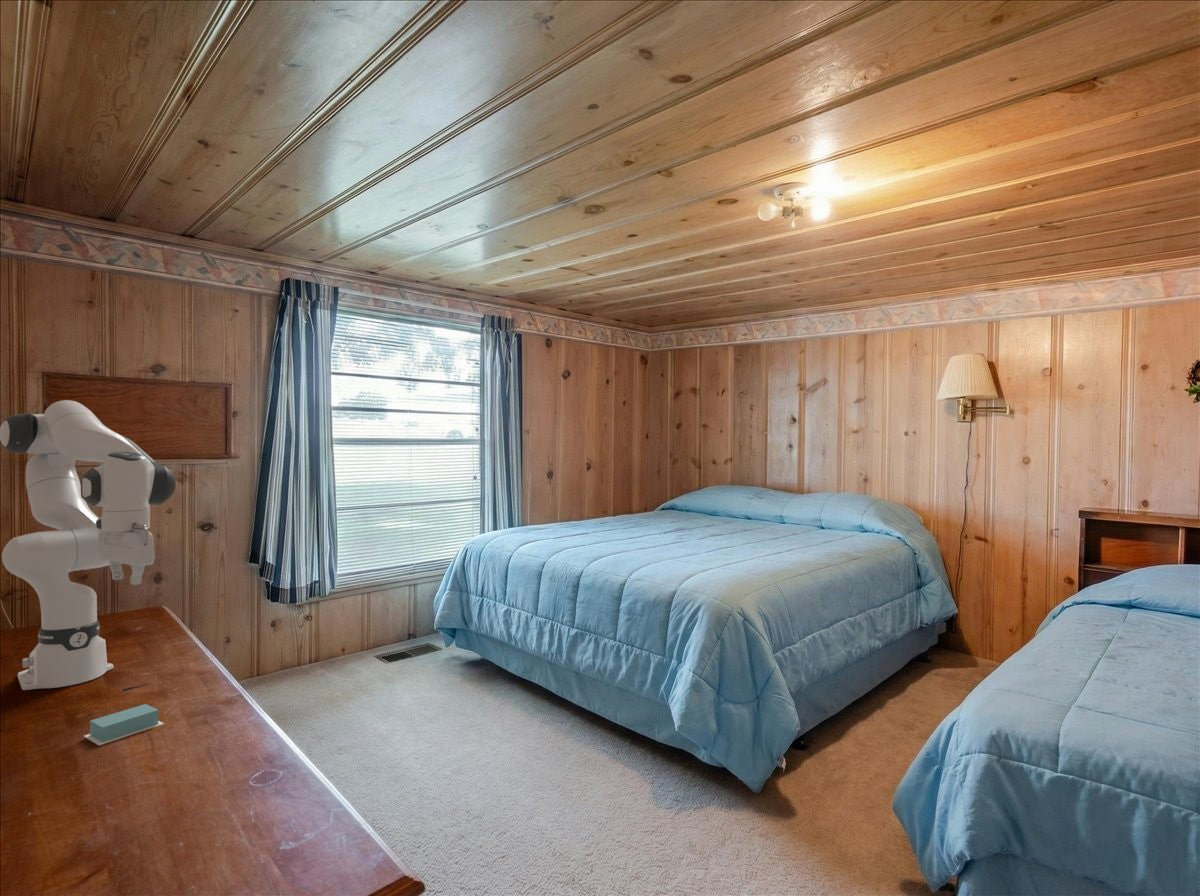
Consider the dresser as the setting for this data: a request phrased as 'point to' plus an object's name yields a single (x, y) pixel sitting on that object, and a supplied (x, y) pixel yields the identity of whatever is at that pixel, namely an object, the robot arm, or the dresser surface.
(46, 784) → the dresser surface
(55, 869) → the dresser surface
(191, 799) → the dresser surface
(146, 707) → the teal rectangular block
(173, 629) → the dresser surface
